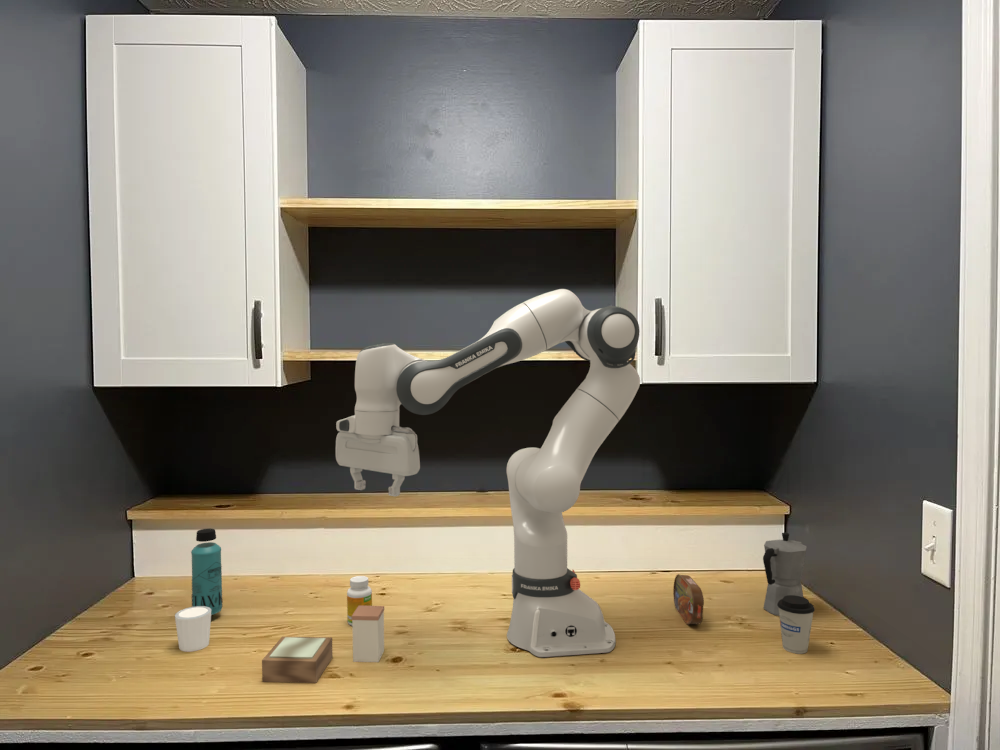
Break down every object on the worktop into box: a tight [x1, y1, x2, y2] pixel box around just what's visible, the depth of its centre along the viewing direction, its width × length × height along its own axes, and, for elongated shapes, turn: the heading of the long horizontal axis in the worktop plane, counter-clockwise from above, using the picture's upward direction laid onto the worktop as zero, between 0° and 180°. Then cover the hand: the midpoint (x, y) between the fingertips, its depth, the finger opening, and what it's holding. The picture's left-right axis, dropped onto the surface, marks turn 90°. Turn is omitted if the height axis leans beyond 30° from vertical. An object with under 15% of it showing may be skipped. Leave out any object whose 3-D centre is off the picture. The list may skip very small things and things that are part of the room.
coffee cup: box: [777, 595, 816, 655], centre depth 137 cm, size 7×7×10 cm
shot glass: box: [174, 606, 212, 653], centre depth 140 cm, size 7×7×7 cm
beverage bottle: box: [190, 528, 224, 616], centre depth 154 cm, size 6×7×20 cm
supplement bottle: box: [346, 575, 373, 626], centre depth 151 cm, size 5×5×10 cm
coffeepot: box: [762, 531, 808, 617], centre depth 156 cm, size 15×9×18 cm, turn 129°
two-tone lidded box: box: [351, 605, 385, 663], centre depth 135 cm, size 5×5×9 cm
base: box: [261, 636, 334, 684], centre depth 130 cm, size 10×10×4 cm
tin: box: [672, 574, 705, 625], centre depth 153 cm, size 15×3×8 cm, turn 1°
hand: (376, 492), depth 138 cm, fingers open, 8 cm apart
